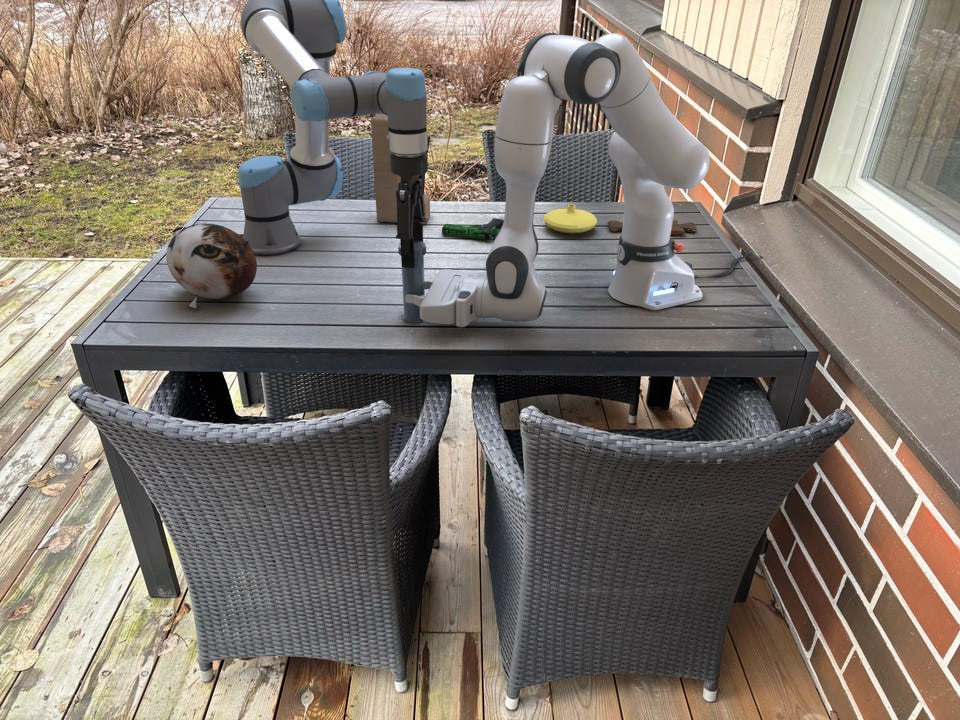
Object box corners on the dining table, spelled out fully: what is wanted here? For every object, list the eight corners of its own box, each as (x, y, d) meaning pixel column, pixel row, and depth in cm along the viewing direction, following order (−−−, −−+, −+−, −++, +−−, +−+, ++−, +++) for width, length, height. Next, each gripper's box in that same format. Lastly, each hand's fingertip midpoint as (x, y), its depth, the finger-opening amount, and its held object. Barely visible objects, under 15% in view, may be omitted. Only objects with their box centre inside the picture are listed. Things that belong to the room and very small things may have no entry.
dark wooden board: (699, 237, 207) (691, 225, 216) (700, 231, 206) (692, 220, 215) (610, 234, 207) (606, 222, 216) (611, 228, 207) (607, 217, 215)
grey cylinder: (405, 323, 159) (402, 251, 150) (402, 313, 163) (399, 243, 154) (426, 321, 160) (424, 250, 151) (423, 312, 164) (421, 242, 155)
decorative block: (425, 225, 212) (423, 121, 196) (376, 222, 213) (369, 118, 198) (430, 216, 218) (428, 115, 203) (382, 213, 220) (376, 113, 204)
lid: (399, 259, 150) (399, 251, 149) (397, 248, 155) (396, 240, 154) (427, 257, 151) (427, 249, 150) (424, 246, 156) (423, 239, 155)
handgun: (511, 219, 210) (493, 234, 198) (511, 228, 211) (492, 244, 199) (461, 212, 215) (440, 226, 203) (461, 221, 217) (440, 236, 204)
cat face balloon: (130, 285, 161) (164, 203, 163) (192, 308, 177) (221, 233, 178) (195, 307, 151) (229, 220, 152) (254, 330, 166) (285, 250, 168)
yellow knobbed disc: (559, 216, 220) (561, 193, 217) (605, 227, 212) (608, 204, 209) (532, 230, 209) (533, 207, 206) (580, 242, 201) (582, 218, 198)
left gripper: (402, 139, 151) (407, 241, 163) (376, 165, 134) (383, 277, 145) (437, 141, 151) (439, 243, 162) (415, 167, 133) (419, 279, 145)
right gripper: (479, 265, 163) (421, 260, 165) (462, 304, 146) (396, 297, 148) (479, 290, 166) (421, 285, 168) (462, 331, 149) (397, 324, 151)
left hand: (412, 259), depth 154 cm, fingers open, 8 cm apart
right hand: (409, 291), depth 158 cm, fingers closed on grey cylinder, 5 cm apart
